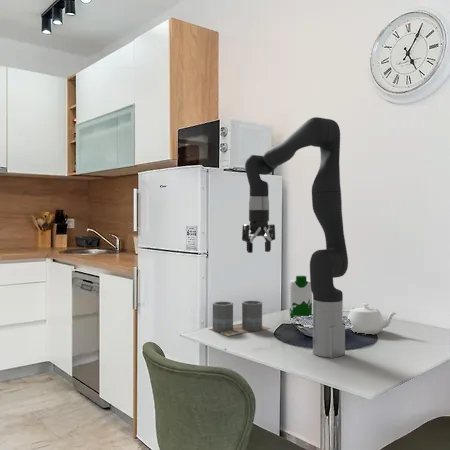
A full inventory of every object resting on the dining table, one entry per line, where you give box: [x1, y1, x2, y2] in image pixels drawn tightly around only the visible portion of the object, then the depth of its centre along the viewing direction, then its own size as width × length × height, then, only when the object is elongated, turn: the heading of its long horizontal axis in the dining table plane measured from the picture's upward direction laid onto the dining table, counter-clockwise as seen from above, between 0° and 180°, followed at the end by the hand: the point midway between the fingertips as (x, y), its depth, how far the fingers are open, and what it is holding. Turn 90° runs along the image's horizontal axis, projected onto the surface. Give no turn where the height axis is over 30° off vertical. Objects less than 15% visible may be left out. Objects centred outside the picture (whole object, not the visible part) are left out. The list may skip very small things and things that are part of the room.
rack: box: [208, 300, 272, 338], centre depth 178 cm, size 13×20×11 cm, turn 126°
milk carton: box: [289, 275, 313, 319], centre depth 188 cm, size 9×9×20 cm
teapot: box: [343, 302, 398, 335], centre depth 178 cm, size 22×14×11 cm, turn 59°
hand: (258, 252), depth 177 cm, fingers open, 8 cm apart
